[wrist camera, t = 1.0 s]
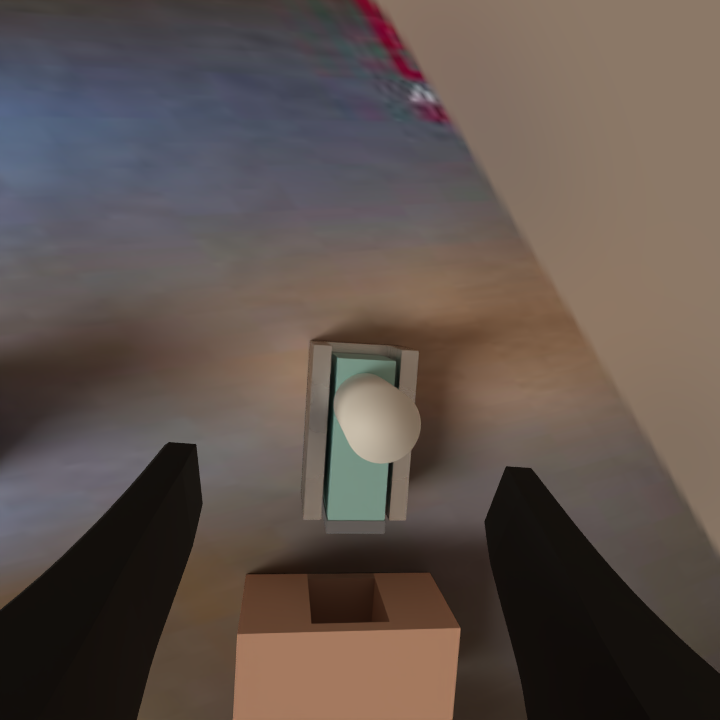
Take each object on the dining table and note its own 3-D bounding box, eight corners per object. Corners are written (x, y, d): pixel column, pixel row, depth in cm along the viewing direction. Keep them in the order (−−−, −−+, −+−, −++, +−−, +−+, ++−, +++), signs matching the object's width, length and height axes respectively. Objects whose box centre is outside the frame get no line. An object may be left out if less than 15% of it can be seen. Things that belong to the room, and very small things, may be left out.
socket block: (421, 674, 29) (449, 749, 24) (240, 681, 27) (230, 763, 22) (429, 572, 28) (460, 628, 23) (246, 574, 27) (237, 633, 22)
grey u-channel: (390, 493, 27) (405, 520, 24) (300, 491, 27) (303, 519, 23) (401, 345, 27) (419, 351, 23) (309, 340, 26) (313, 344, 22)
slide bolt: (373, 508, 26) (408, 583, 19) (320, 507, 26) (334, 584, 19) (385, 355, 26) (425, 373, 18) (330, 352, 25) (348, 369, 18)
